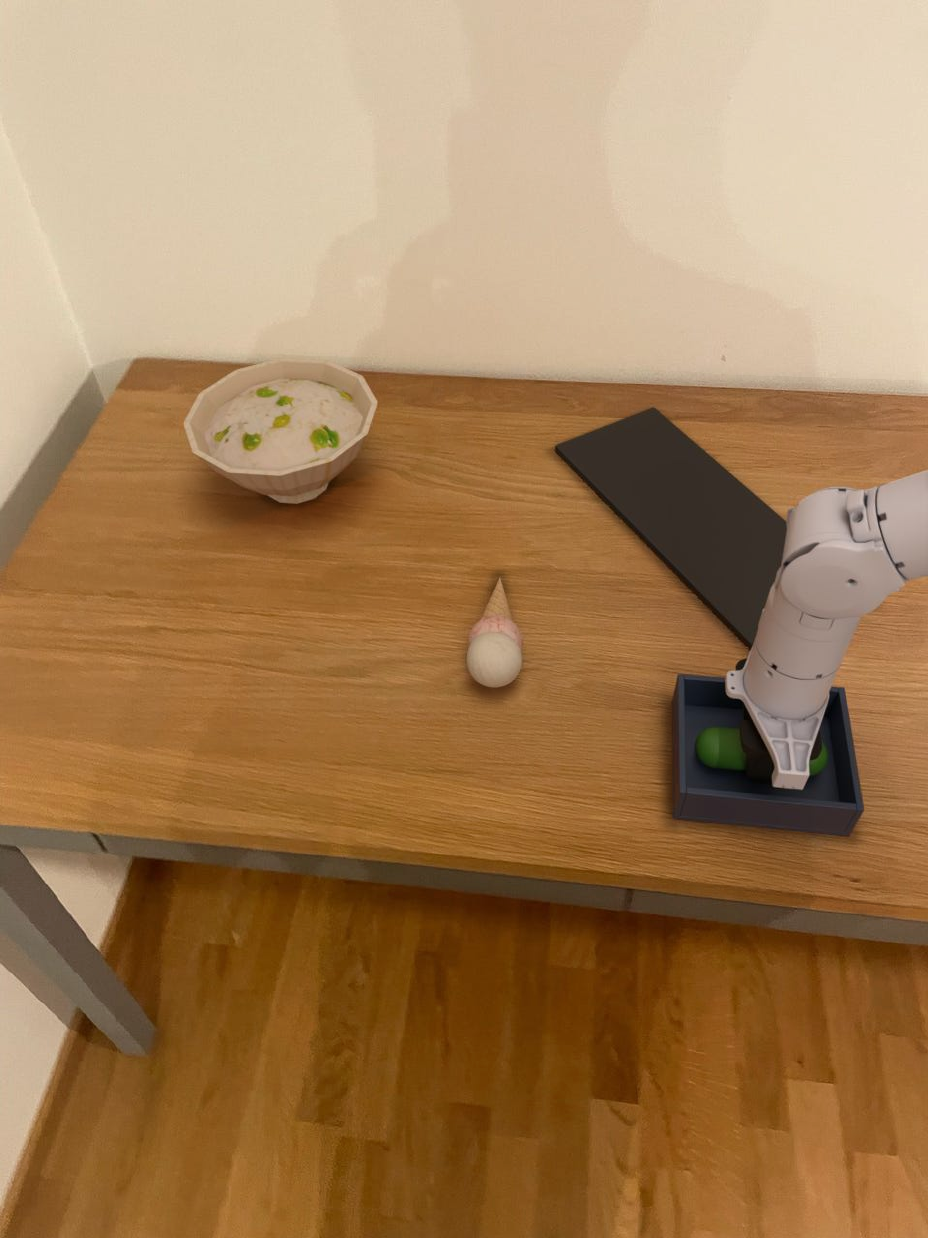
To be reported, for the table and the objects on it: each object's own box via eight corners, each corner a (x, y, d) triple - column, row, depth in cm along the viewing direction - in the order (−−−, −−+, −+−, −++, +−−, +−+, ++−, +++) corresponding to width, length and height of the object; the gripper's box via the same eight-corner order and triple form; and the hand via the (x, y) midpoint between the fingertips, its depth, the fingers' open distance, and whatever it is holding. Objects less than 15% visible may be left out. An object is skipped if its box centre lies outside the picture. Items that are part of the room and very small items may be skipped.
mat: (869, 601, 84) (872, 595, 84) (757, 657, 81) (759, 651, 80) (653, 412, 104) (653, 406, 103) (554, 451, 100) (554, 445, 99)
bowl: (381, 416, 105) (371, 339, 98) (393, 533, 93) (382, 454, 85) (211, 434, 104) (187, 357, 97) (199, 555, 92) (171, 477, 84)
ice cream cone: (489, 603, 90) (481, 706, 78) (466, 567, 88) (454, 666, 76) (533, 586, 88) (531, 688, 76) (511, 548, 86) (505, 647, 74)
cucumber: (819, 751, 74) (830, 728, 71) (824, 786, 71) (835, 764, 69) (691, 739, 75) (697, 717, 72) (692, 773, 73) (698, 751, 70)
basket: (831, 716, 76) (844, 687, 73) (849, 836, 69) (864, 810, 66) (671, 702, 78) (677, 673, 75) (672, 818, 71) (679, 792, 68)
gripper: (732, 565, 67) (703, 678, 78) (744, 730, 58) (709, 834, 68) (833, 571, 66) (790, 685, 77) (861, 741, 57) (808, 844, 67)
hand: (758, 756), depth 72 cm, fingers closed on cucumber, 3 cm apart
